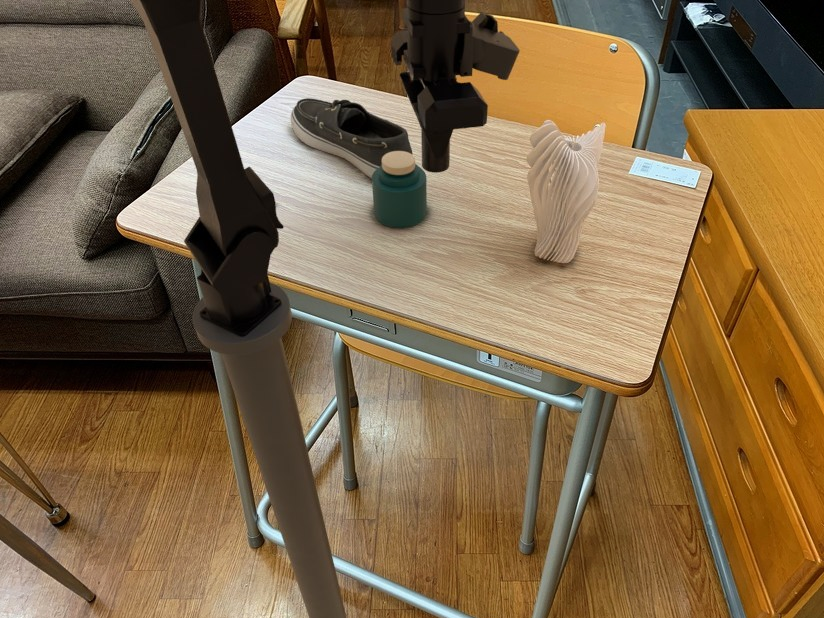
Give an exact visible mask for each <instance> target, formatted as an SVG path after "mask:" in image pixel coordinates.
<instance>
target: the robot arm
mask: <svg viewBox="0 0 824 618" xmlns="http://www.w3.org/2000/svg"><path fill="white" fill-rule="evenodd" d="M130 1H131V3H132V5H133V7H134V9H135V10H136V11H137V14H138V15H139V16H140V18H141V20H142V22H143V24H144V26H145V29H146V33H147V35H148V37H149V40H150V43H151V47H152V49H153V52H154V54H155V55H154V56H155V57H156V60H157V63H158V65H159V68H160V71H161V74H162V77H163V79H164V83H165V85H166V88H167V91H168V94H169V96H170V100H171V102H172V104H173V107H174V110H175V113H176V116H177V120H178V122H179V124H180V127H181V131H182V133H183V135H184V138H185V142H186V144H187V147H188V150H189V152H190V156H191V157H192V161H193V163H194V166H195V169H196V176H197V177H196V188H195V195H196V202H197V208H198V214H199V217H198V218H197V220H196V221H195V223H194V224H193V226H192V227H191V228H190V231H188V234H187V235H186V236H185V238H184V240H183V243H184V245H185V247H187V249H188V250H189V252H190V253H191V255H192V256H193V258H194V260H195V262H196V263H197V264H198V266H199V267H200V274H199V275H198V276H197V277H196V280H197V283H198V286H199V290H200V293H201V295H202V296H201V297H203V299H204V302H205V305H206V307H205V308H204V309H203V310H201V311H200V313H199V314H200V317H201V318H203V319H205V320H207V321H209V322H211V323H213V324H215V325H217V326H219V327H221V328H223V329H225V330H227V331H229V332H232V333H234V334H236V335H238V336H240V337H244V336H246V335H248V334H249V333H250V332H251V331H252V330H253V329H254V328H256V327H257V326H258V325H259V324H260V323H261V322H262V321H264V320H265V319H266V318H267V317H268V316H269V315H270V314H272V313H273V312H274V311H275V310H276V309H277V308H278V307H279V306H281V304H282V302H281V299H279V298H277V297H274V296H272V295H270V293H271V287H270V283H271V281H270V278H269V273H268V271H269V266H270V261H271V256H272V254H273V252H274V250H275V249H276V248H278V246H279V242H280V234H279V230H283V229H284V227H285V226H284V225H283V223H281V221H280V220H279V217H278V216H277V215H278V214H277V205H276V198H275V195H274V192H273V191H272V190H271V189H270V187H269V186H267V185H266V183H265V182H264V181H263V180H262V178H261V177H260V176H259V175H258V174H257V173H256V172H255V171H254V169H253V168H252V167H251V166H247V167H244V163H243V160H242V157H241V153H240V150H239V146H238V144H237V140H236V136H235V132H234V129H233V126H232V123H231V119H230V116H229V113H228V110H227V106H226V103H225V99H224V96H223V92H222V89H221V86H220V82H219V79H218V76H217V73H216V69H215V66H214V63H213V59H212V56H211V52H210V49H209V46H208V42H207V39H206V35H205V32H204V29H203V25H202V7H203V6H202V5H203V0H130ZM405 3H406V5H405V6H406V7H404V8H402V9H401V11H402V21H403V22H404V25H405V26H406V30H398V31H397V32H396V33H395V34H394V36H392V37H391V39H390V52H391V59H392V60H393V62H394V65H395V66H401V65H402V63H403V62H404V63H405V65H406V71H403V72H400V73H399V80H400V81H401V84H402V86H403V88H404V91H405V93H406V95H407V97H408V100H409V102H410V105H411V107H412V110H413V112H414V114H415V118H416V120H417V121H418V124H419V126H420V128H421V127H422V129H423V132H424V134H425V137H426V139H427V141H428V144H429V146H430V149H431V151H432V154H433V156H434V158H435V159H439V158H443V157H444V156H445V153H446V150H447V147H448V144H449V141H450V142H451V138H452V135H453V132H454V130H462V129H471V128H479V127H484V126H485V125H486V124H487V123H488V110H489V109H488V108H489V105H488V102H486V100H485V98H484V97H483V95H482V94H481V92H480V90H479V89H478V88H476V86H475V85H474V84H473V83H472V82H470V81H467V82H459V81H457V80H458V78H457V76H459V77H461V78H465V77H473V70H476V71H479V72H482V73H485V74H489V75H492V76H495V77H497V78H498V79H499V80H502V81H507V80H509V77H510V75H511V73H512V70H513V68H514V66H515V64H516V61H517V58H518V56H519V54H520V51H521V50H520V48H519V47H518V46H517V44H515V41H513V39H512V38H511V37H510V36H508V35H506V34H505V32H504V31H502V30H499V25H498V20H497V19H496V18H495V16H494V15H492V14H490V13H487V12H484V11H481V12H480V13H478V15H477V16H475V18H474V19H473V20H472V21H471V20H469V19H468V17H467V16H466V0H405ZM419 122H420V123H419ZM420 124H421V125H420ZM278 229H279V230H278ZM277 302H278V303H277ZM242 332H243V333H242Z"/></svg>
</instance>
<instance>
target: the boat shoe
mask: <svg viewBox="0 0 824 618" xmlns="http://www.w3.org/2000/svg"><path fill="white" fill-rule="evenodd" d="M290 122H291V127H292V130H293V132H294V134H295V135H296V136H297V138H298V139H299V140H300V141H301V142H302V143H304V144H305V145H307V146H309V147H311V148H313V149H316V150H318V151H322V152H324V153H328V154H331V155H334V156H336V157H340V158H342V159H344V160H346V161H348V162H349V163H350V164H352V165H353V166H354V167H355V168H357V169H358V170H359V171H361V172H362V173H363V174H365V175H366V176H367V177H369V178H370V179H372V174H373V173H374V171H375V170H376V169H378V168H379V167H380V166H381V165H382V157H383V156H384V155H385V154H387V153H389V152H393V151H404V152H408V153H410V154H412V155H413V149H412V146H411V142H410V139H409V133H408V131H407V130H406V128H404V127H403V126H401V125H399V124H397V123H394V122H392V121H390V120H387V119H385V118H382V117H379V116H377V115H375V114H373V113H371V112H369V111H368V110H367V109H366V108H365V107H364V106H363V104H360V103H358V102H352V101H350V100H349V99H341V100H339V99H334V100H333V101H332V102H330V101H325V100H322V99H317V98H310V97H309V98H301V99H299V100H298V101H297V102H296V105H295V106H294V107H293V108H292V110H291V112H290ZM413 156H414V155H413Z"/></svg>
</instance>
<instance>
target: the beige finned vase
mask: <svg viewBox="0 0 824 618" xmlns="http://www.w3.org/2000/svg"><path fill="white" fill-rule="evenodd" d="M606 125H607V124H606V122H601V123H600V125H599V126H595V127H594V128H593V130H588V131H587V133H582V134H581V136H580V135H576V139H575V135H572V137H571V136H570V135H567V136H566V135H564V134H562V132H561V130H560V128H559V126H557V124H556V123H555V122H554V121H552V120H550V119H545V120H544V121H543V123H542V125H541V126H540V127H538V128H536V129H535V130H534V132H533V133H532V134H531V135H530V137H529V142H530V144H531V146H532V148H533V149H532V150H531V151H530V152H529V153H528V155H527V156H526V162H527V164H528V165H529V166H530V169H529V171H528V172H527V175H526V178H527V183H528V187H529V198H530V201H531V206H532V208H533V214H534V219H535V225H536V230H537V231H536V232H537V236H536V244H535V248H534V255H535V256H536V257H538V258H539V259H543V260H546V261H550V262H553V263H555V262H556V263H560V264H568V263H569V262H571V261H572V260H573V259H574V257H575V255H576V252H577V249H578V248H579V244H580V240H581V236H582V233H583V229H584V226H585V221H587V219H588V217H589V215H590V214H591V212H592V211H593V210H594V207H595V205H596V202H597V198H598V193H599V187H600V181H599V180H600V179H599V178H600V177H599V164H600V161H601V156H602V151H603V146H604V140H605V134H606V133H605V132H606V127H607V126H606Z"/></svg>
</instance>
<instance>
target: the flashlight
mask: <svg viewBox="0 0 824 618" xmlns="http://www.w3.org/2000/svg"><path fill="white" fill-rule="evenodd" d="M419 123H420V122H419V121H418V124H419ZM420 125H421V124H419V126H420ZM420 128H421V134H420V135H421V136H420V137H421V139H420V140H421V167H422V170H423V171H426V172H429V173H432V174H433V173H435V174H437V173H443V172H445V171H447V170H448V169H449V168H450V162H451V161H450V160H451V159H450V158H451V157H450V154H451V153H450V152H451V140H450V141H449V144H448V147H447V150H446V153H445V156H444V157H443V158H439V159H435V158H434V156H433V154H432V151H431V149H430V146H429V144H428V141H427V139H426V137H425V134H424V132H423V129H422V127H421V126H420Z"/></svg>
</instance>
